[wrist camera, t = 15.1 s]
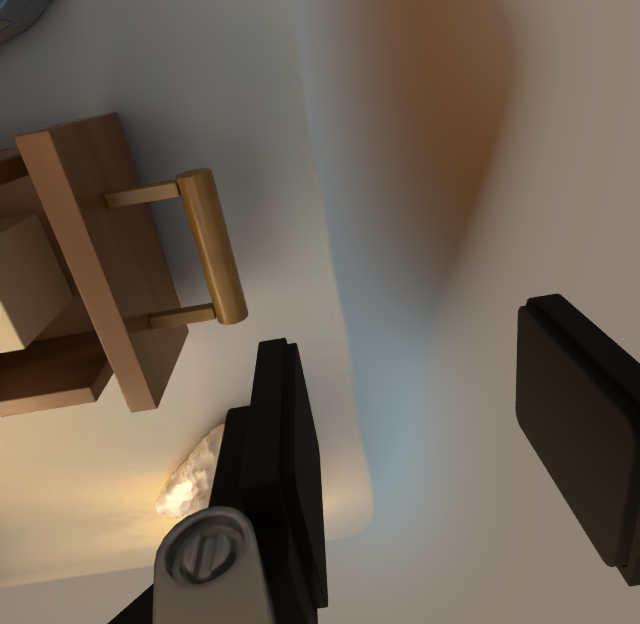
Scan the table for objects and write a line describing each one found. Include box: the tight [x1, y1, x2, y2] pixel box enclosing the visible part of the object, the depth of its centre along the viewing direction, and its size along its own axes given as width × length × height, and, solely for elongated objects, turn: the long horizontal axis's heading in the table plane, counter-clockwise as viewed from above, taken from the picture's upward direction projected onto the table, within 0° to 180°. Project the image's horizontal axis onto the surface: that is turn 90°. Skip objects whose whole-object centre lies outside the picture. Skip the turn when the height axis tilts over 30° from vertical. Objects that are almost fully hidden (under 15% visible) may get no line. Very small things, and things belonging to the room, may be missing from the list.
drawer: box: [0, 112, 248, 417], centre depth 22 cm, size 20×11×7 cm, turn 99°
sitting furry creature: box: [155, 424, 225, 518], centre depth 27 cm, size 10×9×12 cm
